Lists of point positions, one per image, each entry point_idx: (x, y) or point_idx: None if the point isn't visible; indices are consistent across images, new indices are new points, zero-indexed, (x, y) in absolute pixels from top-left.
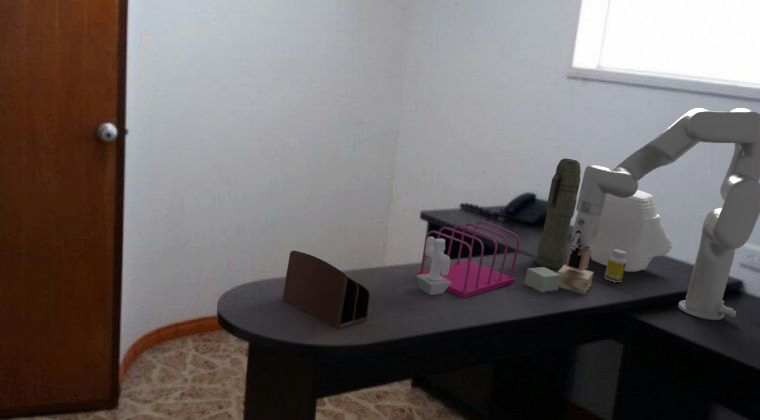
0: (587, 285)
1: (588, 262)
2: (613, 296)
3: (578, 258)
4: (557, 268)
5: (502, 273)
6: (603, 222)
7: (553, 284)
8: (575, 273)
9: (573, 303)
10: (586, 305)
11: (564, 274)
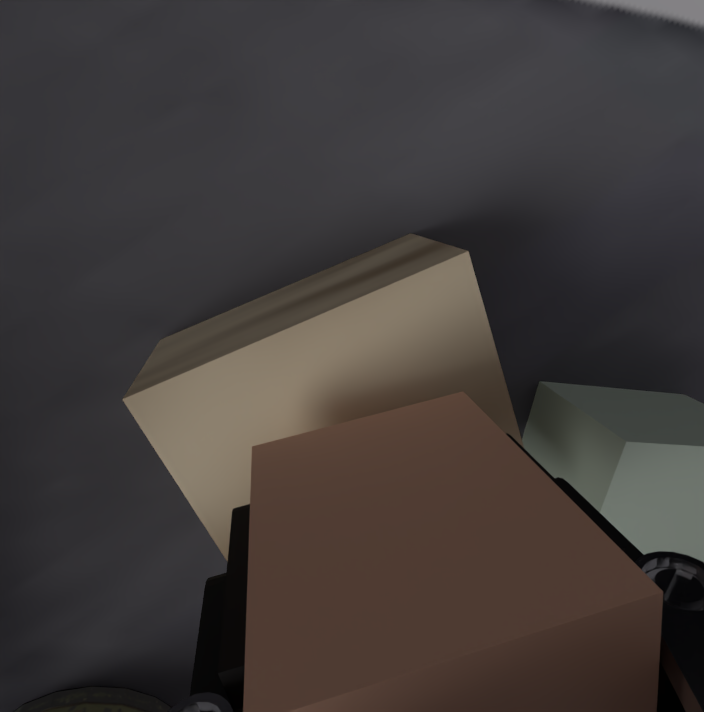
0: (384, 262)
1: (257, 492)
2: (135, 50)
3: None
4: (101, 689)
5: None
6: None
7: (631, 407)
8: None
9: (696, 147)
10: (648, 56)
11: None
